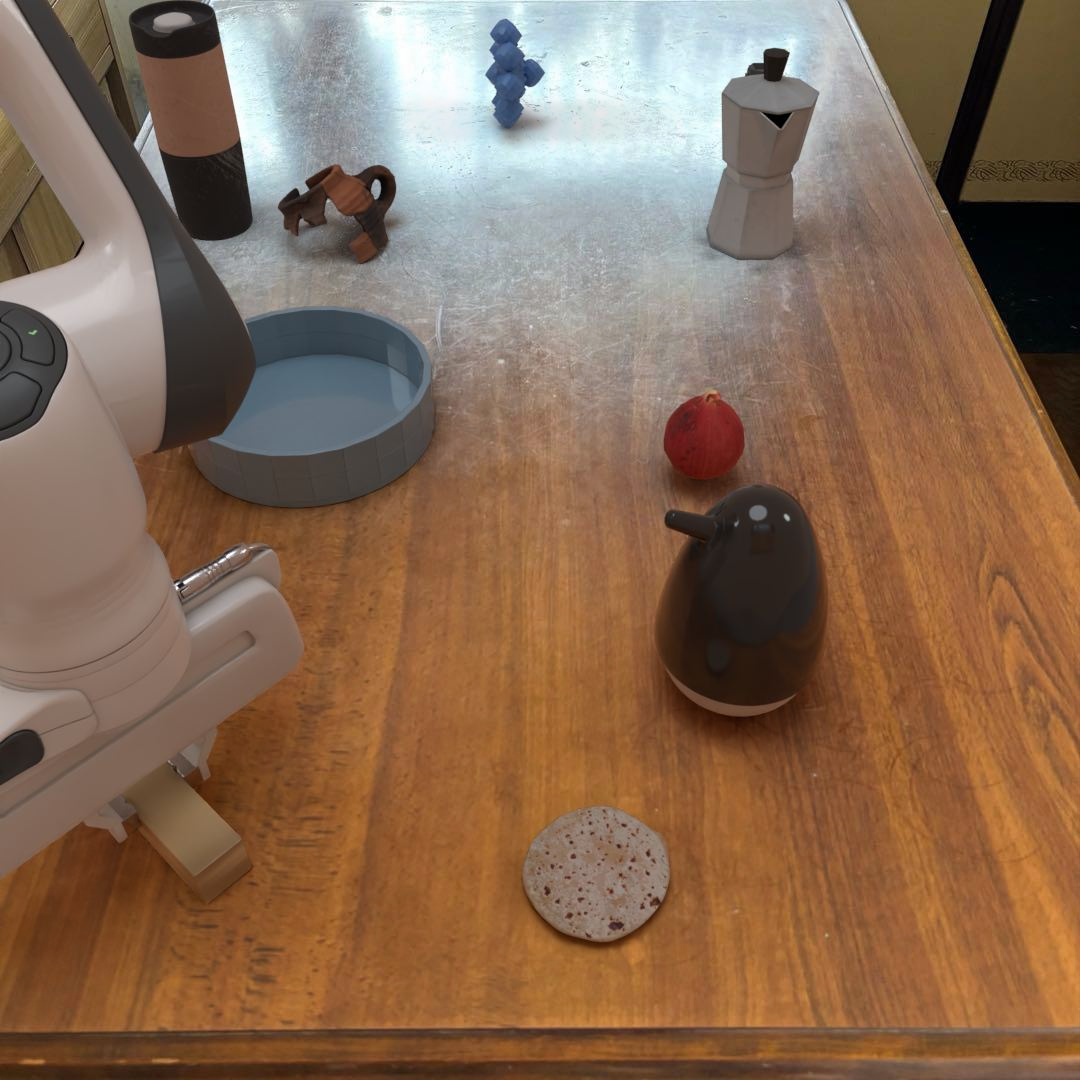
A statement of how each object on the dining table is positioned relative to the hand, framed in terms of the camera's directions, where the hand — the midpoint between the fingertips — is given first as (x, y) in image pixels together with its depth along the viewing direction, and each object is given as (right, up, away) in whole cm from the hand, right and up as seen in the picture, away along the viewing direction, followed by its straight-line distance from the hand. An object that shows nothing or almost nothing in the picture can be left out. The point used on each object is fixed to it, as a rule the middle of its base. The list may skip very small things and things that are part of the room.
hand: (158, 802), depth 61 cm
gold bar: (0, -1, +1) cm, 2 cm away
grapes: (+18, +62, +67) cm, 93 cm away
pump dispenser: (+33, +6, +9) cm, 35 cm away
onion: (+33, +19, +22) cm, 44 cm away
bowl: (+3, +24, +27) cm, 36 cm away
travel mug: (-11, +46, +50) cm, 69 cm away
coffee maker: (+42, +45, +49) cm, 78 cm away
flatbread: (+24, -4, -1) cm, 24 cm away
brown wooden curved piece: (+2, +44, +48) cm, 65 cm away
